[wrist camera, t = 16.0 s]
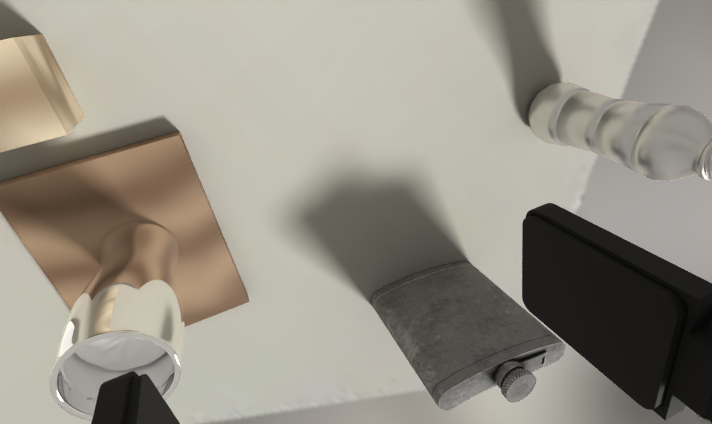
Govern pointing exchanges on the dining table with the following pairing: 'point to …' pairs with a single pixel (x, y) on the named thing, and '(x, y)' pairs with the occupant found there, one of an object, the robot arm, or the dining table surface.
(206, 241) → the serving board
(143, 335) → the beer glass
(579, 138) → the plastic bottle
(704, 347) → the robot arm
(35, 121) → the beech block
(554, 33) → the dining table surface
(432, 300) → the flask
